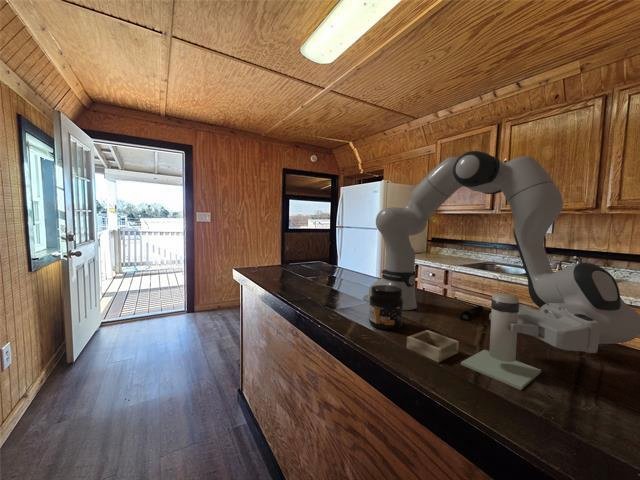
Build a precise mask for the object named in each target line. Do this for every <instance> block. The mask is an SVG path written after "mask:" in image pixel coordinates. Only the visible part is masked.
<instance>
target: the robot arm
mask: <svg viewBox="0 0 640 480" xmlns="http://www.w3.org/2000/svg"><path fill="white" fill-rule="evenodd" d="M463 187H465V188H467V189H469V190H471V191H473V192H479V193H482V194H486V195H496V194H500V193H503V195H504V197H505V199H506V201H507V203H508V206H509V207H510V211H511V213H512V217H513V218H512V219H513V237H514V238H513V239H514V241H515V244H516V245H515V246H516V247H517V252H518V254H519V257H520V259H521V263H522V266H523V269H524V272H525V275H526V279H527V288H528V293H529V297H530V299H531V300H532V302H533V303H534V304H535V306H537V307H538V308H539V309H536V308H533V307H531V306H529V305H525V304H520V303H519V312H518V323H517V322H509V323H508V330H510V331H512V332H514V333H517V334H523V335H529V336H532V337H533V338H537V339H538V340H540V341H542V342H544V343H546V344H548V345H550V346H552V347H553V348H557V349H559V350H563V351H571V352H572V351H573V352H585V353H587V354H596V353H598V348H599V345H610V344H611V345H612V344H613V345H614V344H615V345H616V344H623V343H628V342H631V341H633V340H635V339H636V338H638V337H639V336H640V314H639V312H638V311H636V310H635V309H634V308H633V307H632V306H629V305H628V304H627V303H626V302H625V301H624V300H623V298H622V297H621V294H620V293H621V292H620V289H619V286H618V284H617V281H616V279H615V278H614V277H613V275H612V274H611V273H610V272H608V271H607V270H606V269H605V268H603V267H601V266H599V265H597V264H594V263H590V262H580V263H578V264H574V265H571V266H568V267H566V268H562V269H561V270H558V271H555V272H554V270H553V269H552V265H551V263H550V261H549V257H548V255H547V252H546V250H545V249H546V248H545V245H544V243H545V242H544V241H545V240H544V239H545V236H546V235H547V233H548V231H549V229H550V228H551V226H552V225H553V224H554V223H555V221H556V220H557V219H558V217H559V216H560V215H561V212H562V210H563V208H564V199H563V197H562V193H561V192H560V190H559V188H558V186H557V185H556V183H555V182H554V180H553V179H552V177H551V175H550V174H549V173H548V172H547V170H546V169H545V168H544V167H543V165H542V164H540V163H539V161H537V160H536V159H535V158H534V157H531V156H527V155H523V156H522V155H521V156H518V157H517V156H516V157H515V158H513V159H511V160H508V161H506V162H503V161H502V160H501V159H499V158H497V157H496V156H493V155H491V154H489V153H487V152H485V151H478V150H471V151H468V152H467V151H466V152H464V153H463V154H461V155H460V156H459V157H458V156H449V157H447V158H445V159H444V160H442V161H441V162H440V163H439V164H437V166H435V167H434V168H432V170H430V172H429V173H428V174H427V175H426V176H425V177H423V179H422V180H421V181H420V182H419V183H418V185H416V186H415V188H414V189H412V191H411V195H410V196H411V198H410V200H409V201H408V203H407V204H406V206H404V207H396V206H395V207H394V206H393V207H392V206H391V207H388V208H383V209H381V210H380V211H379V212H378V213H377V215H376V217H375V225H376V229H377V230H378V231H379V233H380V234H381V235H382V238H383V241H384V246H385V268H384V270H383V269H382V270H381V271H380V274H382V276H381V277H380V278H379V279H378V280H377V281H374V282H373V283H371V285H370V287H369V289H368V294H366V295H364V296H363V297H362V299H364V300H363V301H365V302H368V303H370V296H371V295H372V293H371V289H372V287H373V286H376V285H389V286H395V287H398V288H401V289H402V296H401V298H402V299H403V310H402V311H411V310H415V309H418V305H417V304H418V303H417V300H416V294H415V293H416V291H415V284H416V271H415V267H416V251H415V249H414V248H413V246H412V245H411V239H410V237H411V236H416V235H418V234H421V233H423V232H424V231H425V229H426V227H427V225H428V221H429V219H430V218H431V217H432V215H433V214H434V213H435V212H436V211H437V209H438V208H439V207H441V206H442V205H443V204H444V203H445V202H447V200H448V199H450V197H452V195H453V194H455V193H456V192H457V191H458V190H459V189H461V188H463ZM488 319H489V320H490V321H491V312H490V313H489V317H488Z"/></svg>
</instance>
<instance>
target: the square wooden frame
mask: <svg viewBox="0 0 640 480" xmlns="http://www.w3.org/2000/svg"><path fill="white" fill-rule="evenodd" d="M459 343H460V341H458V340H456V339H453V338H451V337H448V336H445V335H442V334H441V333H440V334H439V333H437V332H434V331H431V330H428V329H426V330H422V331H420V332H417V333H414V334H412V335H409V336H406V349H407V350H410V351H413V352H414V353H417V354H418V355H421V356H423V357H424V358H425V357H426V358H427V359H430V360H432V361H434V362H436V363H440V362H442V361H444V360H446V359H448V358H450V357H452V356H454V355H456V354H458V353H459Z"/></svg>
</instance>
